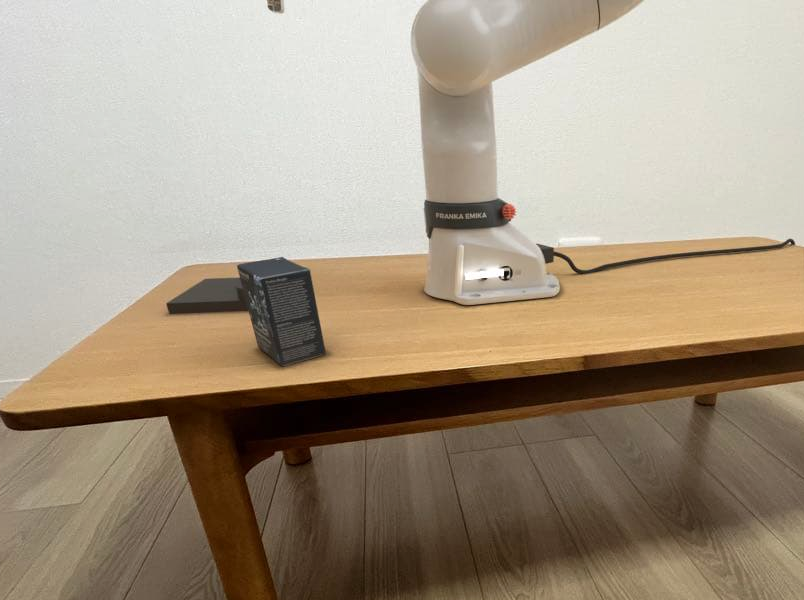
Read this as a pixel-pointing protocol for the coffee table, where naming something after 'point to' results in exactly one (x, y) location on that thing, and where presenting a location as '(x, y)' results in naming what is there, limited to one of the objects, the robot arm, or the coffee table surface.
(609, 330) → the coffee table surface
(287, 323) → the box
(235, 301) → the scale
